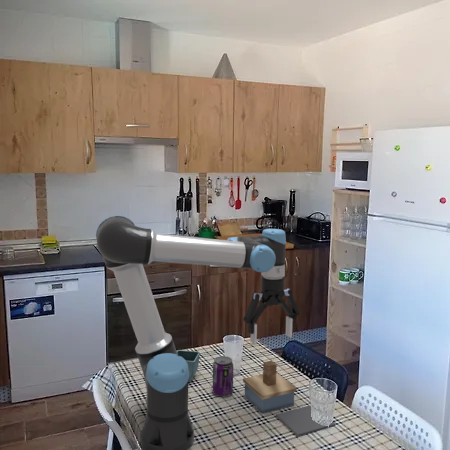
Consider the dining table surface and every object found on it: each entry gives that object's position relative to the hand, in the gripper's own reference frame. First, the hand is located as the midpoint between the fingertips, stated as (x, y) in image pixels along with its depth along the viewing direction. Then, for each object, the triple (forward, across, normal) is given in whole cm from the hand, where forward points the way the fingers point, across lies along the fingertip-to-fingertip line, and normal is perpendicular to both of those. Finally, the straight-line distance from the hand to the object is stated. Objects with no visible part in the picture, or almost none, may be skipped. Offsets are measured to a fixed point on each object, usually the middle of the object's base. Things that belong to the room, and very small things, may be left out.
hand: (271, 339), depth 149 cm
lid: (+16, 0, 0) cm, 16 cm away
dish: (+21, 0, 0) cm, 21 cm away
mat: (+22, +4, -15) cm, 26 cm away
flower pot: (+21, -20, +26) cm, 39 cm away
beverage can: (+22, -12, +11) cm, 27 cm away
